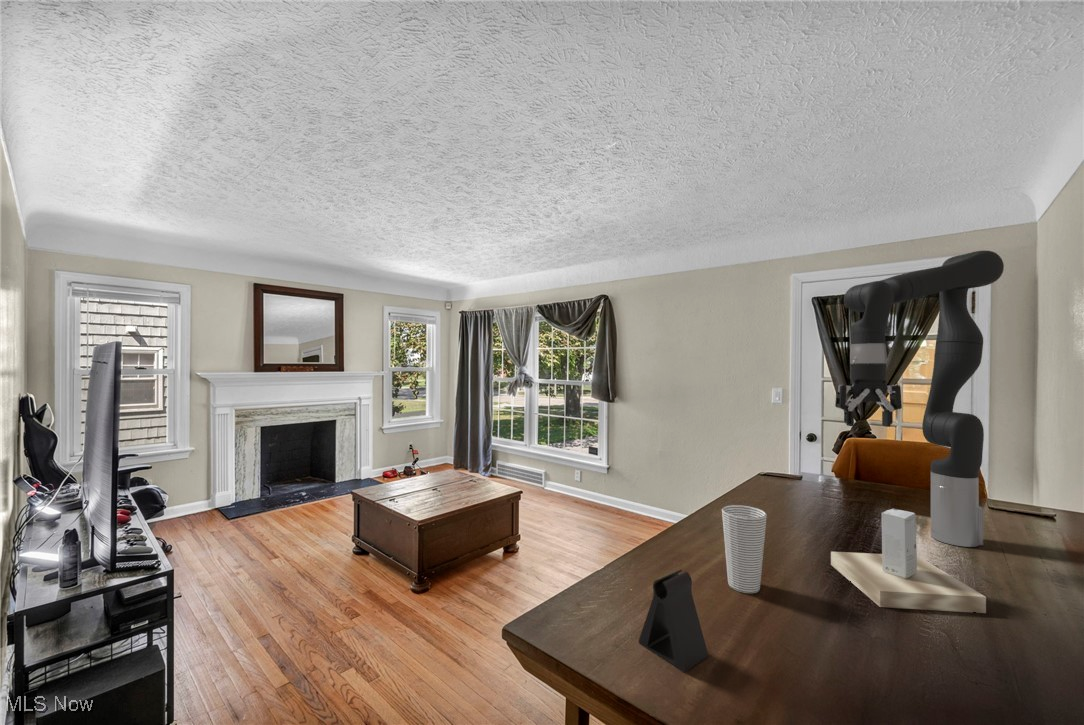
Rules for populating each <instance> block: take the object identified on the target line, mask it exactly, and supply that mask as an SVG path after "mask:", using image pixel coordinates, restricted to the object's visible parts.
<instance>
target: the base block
mask: <svg viewBox="0 0 1084 725" xmlns="http://www.w3.org/2000/svg"><path fill="white" fill-rule="evenodd" d="M830 565H831V566H832V567H833V568H834V569H835V570H836V571H837V572H839V573H840V574H841V575H842V576H843V577H845V578H846V579H847V580H848V581H849V582H850V581H851V582H850V583H852V584H853V585H854V586H855V587H857V588H858V590H860V591H861V592H862V593H863V594H864V595H865V596H867V597H868V598H869V599H870V600H871V601H873V603H875V604H876V605H877V606H878V607H880V608H893V609H909V610H910V609H911V610H925V611H927V610H928V611H940V612H941V611H944V612H957V613H973V612H976V614H986V613H987V597H986V596H985V595H984V594H982V593H980V592H979V591H977V590H975V589H973V588H972V587H970V586H968V585H967V584H965V583H964V582H961V581H960V580H959V579H956V578H955V577H953V576H952V575H951V574H948V573H947V572H945V571H943V570H942V569H940V568H938V567H937V566H935V565H933V564H932V563H930V562H929V561H928V560H925V559H923V557H920V556H918V555H917V572H916V573H915V574H914V575H912V576H910V577H909V578H906V579H905V578H901V577H898V576H895V575H892V574H889V573H886V572H884V571H883V569H882V553H871V552H870V553H867V552H850V551H849V552H846V551H830Z"/></svg>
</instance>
